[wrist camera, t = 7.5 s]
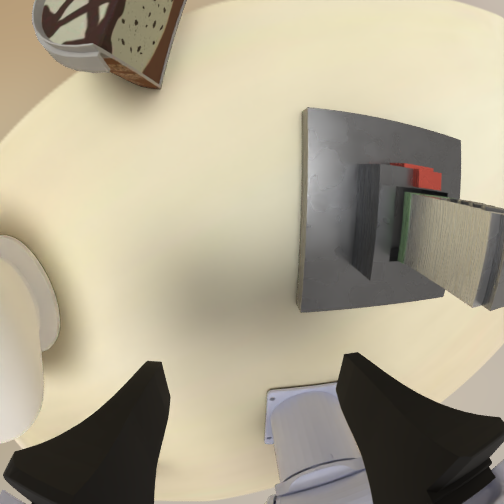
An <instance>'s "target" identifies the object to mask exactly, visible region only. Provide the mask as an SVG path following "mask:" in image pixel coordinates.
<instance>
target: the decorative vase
mask: <svg viewBox="0 0 504 504" xmlns="http://www.w3.org/2000/svg"><path fill="white" fill-rule="evenodd" d="M59 330H60V314H59V308H58V303H57V299H56V296H55V293H54V290H53V288H52V285H51V283H50V280H49V278H48V276H47V274H46V272H45V271H44V269H43V267H42V266H41V264H40V262H39V261H38V260H37V258H36V257H35V255H34V254H33V253H32V252H31V251H30V250H29V249H28V248H27V247H26V246H25V245H24V244H23V243H22V242H20V241H19V240H17V239H16V238H14V237H11V236H8V235H0V443H5V442H8V441H11V440H13V439H16V438H18V437H19V436H21V435H22V434H23V433H25V432H26V431H27V430H28V429H29V428H30V426H31V425H32V424H33V423H34V421H35V420H36V418H37V416H38V414H39V412H40V409H41V406H42V402H43V394H44V376H43V364H42V354H41V352H43V351H46V350H48V349H49V348H50V347H51V346H52V345H53V344H54V343H55V341H56V339H57V337H58V334H59Z"/></svg>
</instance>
